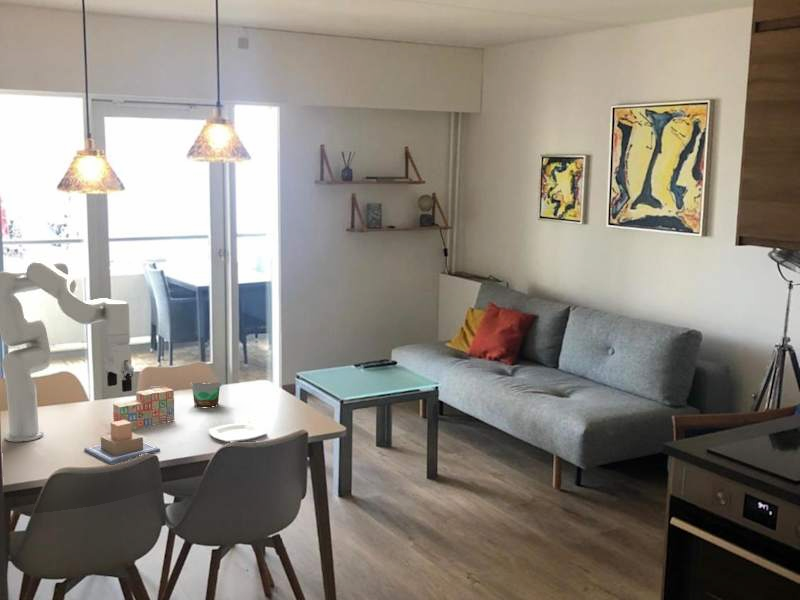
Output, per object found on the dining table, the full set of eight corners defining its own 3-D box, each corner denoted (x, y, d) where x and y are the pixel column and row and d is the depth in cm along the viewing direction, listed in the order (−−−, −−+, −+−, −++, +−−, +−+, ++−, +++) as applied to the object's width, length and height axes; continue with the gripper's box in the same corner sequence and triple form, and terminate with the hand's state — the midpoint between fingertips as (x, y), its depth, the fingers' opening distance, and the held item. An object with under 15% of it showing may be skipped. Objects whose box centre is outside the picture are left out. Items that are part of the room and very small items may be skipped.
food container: (190, 409, 336) (190, 385, 335) (190, 405, 342) (190, 381, 341) (222, 408, 339) (221, 383, 338) (221, 403, 345) (221, 380, 344)
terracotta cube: (111, 436, 286) (110, 422, 285) (124, 433, 289) (124, 419, 288) (118, 440, 282) (117, 425, 282) (132, 437, 286) (131, 422, 285)
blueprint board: (84, 450, 286) (83, 436, 285) (132, 439, 299) (132, 425, 298) (110, 464, 274) (110, 449, 273) (160, 451, 287) (159, 437, 286)
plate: (201, 434, 307) (201, 428, 307) (250, 425, 318) (250, 420, 318) (223, 448, 292) (223, 443, 292) (273, 438, 303) (273, 433, 303)
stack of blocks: (120, 431, 308) (119, 399, 306) (113, 427, 312) (112, 395, 310) (174, 421, 322) (174, 389, 320) (167, 417, 326) (166, 386, 324)
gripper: (94, 335, 284) (96, 385, 286) (120, 343, 272) (122, 395, 275) (115, 333, 289) (117, 381, 292) (141, 340, 277) (143, 391, 280)
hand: (119, 388), depth 283 cm, fingers open, 9 cm apart
